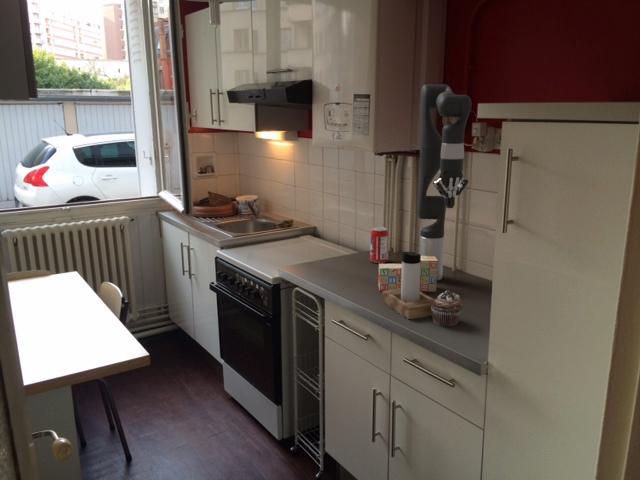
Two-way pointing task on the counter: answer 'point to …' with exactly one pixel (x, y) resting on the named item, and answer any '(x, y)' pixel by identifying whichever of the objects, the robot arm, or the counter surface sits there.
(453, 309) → the cupcake
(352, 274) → the counter surface
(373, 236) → the soda can
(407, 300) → the travel mug
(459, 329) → the counter surface
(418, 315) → the holder board
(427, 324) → the counter surface
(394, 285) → the stack of blocks
